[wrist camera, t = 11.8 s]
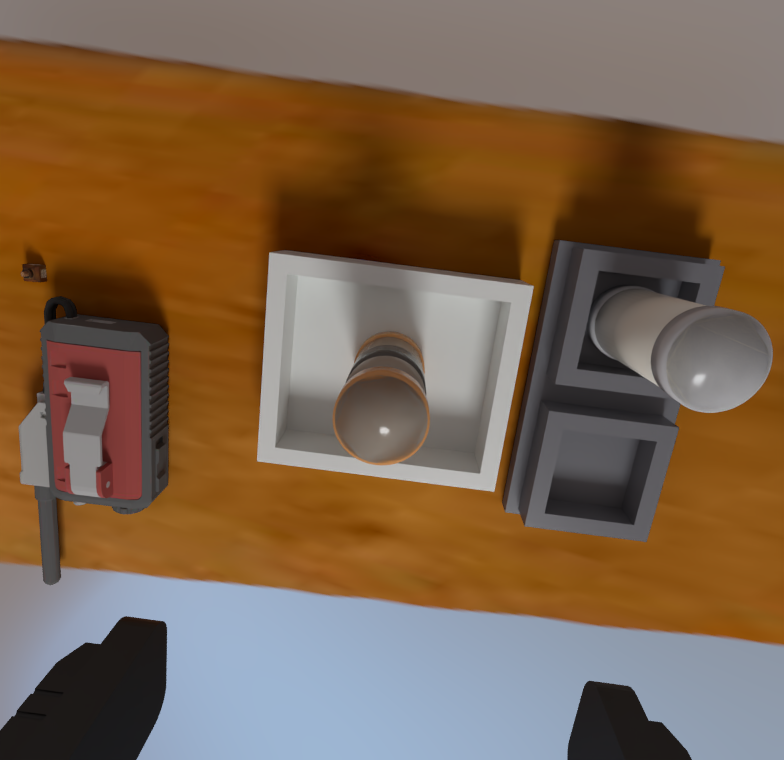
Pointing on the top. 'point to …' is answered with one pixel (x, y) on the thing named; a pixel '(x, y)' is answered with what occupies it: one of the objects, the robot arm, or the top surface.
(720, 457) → the top surface
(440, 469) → the parts tray
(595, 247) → the fuse block
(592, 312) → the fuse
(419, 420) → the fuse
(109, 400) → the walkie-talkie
